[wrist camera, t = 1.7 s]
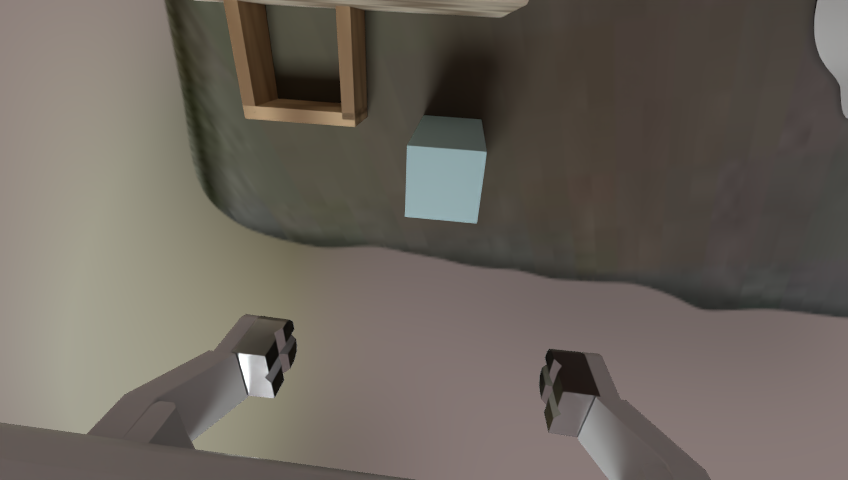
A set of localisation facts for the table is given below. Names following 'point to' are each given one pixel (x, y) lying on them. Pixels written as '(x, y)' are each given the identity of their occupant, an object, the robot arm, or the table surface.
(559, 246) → the table surface
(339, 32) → the cleat board
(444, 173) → the cabinet block
